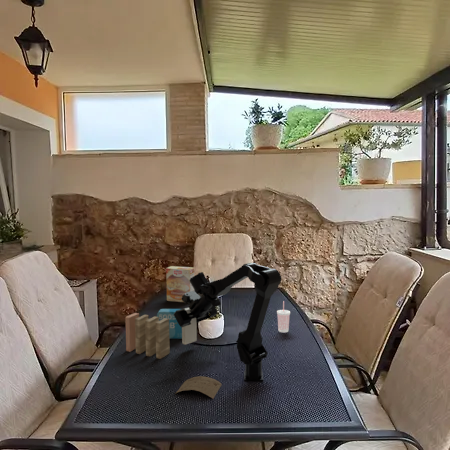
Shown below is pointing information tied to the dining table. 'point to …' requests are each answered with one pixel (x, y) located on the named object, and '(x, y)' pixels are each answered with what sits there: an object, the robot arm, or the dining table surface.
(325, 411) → the dining table surface
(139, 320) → the domino
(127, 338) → the end domino
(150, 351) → the domino
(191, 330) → the domino
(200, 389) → the curved brown sheet
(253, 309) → the robot arm
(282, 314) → the beverage cup
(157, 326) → the domino
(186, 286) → the coffeecake box
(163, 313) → the data package
